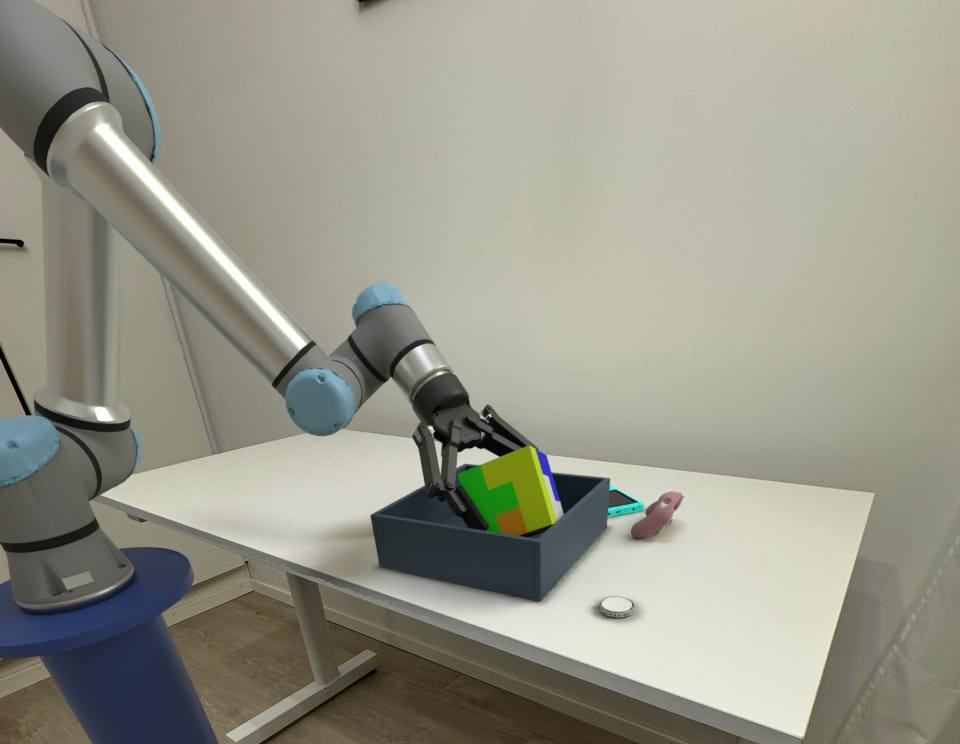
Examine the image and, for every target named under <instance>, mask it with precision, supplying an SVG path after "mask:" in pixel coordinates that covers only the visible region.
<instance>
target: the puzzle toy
mask: <svg viewBox="0 0 960 744" xmlns="http://www.w3.org/2000/svg"><path fill="white" fill-rule="evenodd" d="M478 465H479V466H476V467H474V468H471V469H469V470H466V471H464V472H461V473H459V474H457V475H458V478H459V481H460V485H462V486H463V488H464V489H465V491H466V492H467V494H468V495H469V497H470V498H471V500H472V501H473V503H474V504H475V506H476V507H477V509H478V510H479V512H480V513H481V515H482V516H483V518H484V519H485V521H486V522H487V524H488V525H489V528H488V529H487V530H486V531H490V532H497V533H503V534H509V535H516V536H522V537H531V536H534V535H537V534H540V533H543V532H545V531H547V530H548V529H549V528H550V527H551V526H552V525H553V524H554V523H556V522H557V521H558V520H559V519H560V518H561V517H562V516H563V515H564V513H563V510H562V507H561V503H560V500H559V496H558V493H557V489H556V486H555V483H554V479H553V476H552V472H553V471H552V469H551V466H550V462H549V458H548V455H547V454H545V453H544V452H543V451H540V450H539V449H538V450H537V449H535V448H533V447H531V446H530V445H528V446H526V447H524V448H521V449H519V450H516V451H514V452H511V453H509V454H506V455H504V456H501V457H499V456H498V457H496V458H494V459H492V460H489V461H486V462H484V463H482V464H478Z"/></svg>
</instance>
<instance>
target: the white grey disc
mask: <svg viewBox="0 0 960 744" xmlns="http://www.w3.org/2000/svg"><path fill="white" fill-rule="evenodd" d="M634 610H635V603H634V602H633V601H632V600H631V599H629V598H627V597H624V596H608V597H604V598H603V599H602V600H600V601H599V611H600V613H602V614H603V615H605V616H608V617H611V618H625V617H629V616H631V615H632V614H633V613H634Z"/></svg>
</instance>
